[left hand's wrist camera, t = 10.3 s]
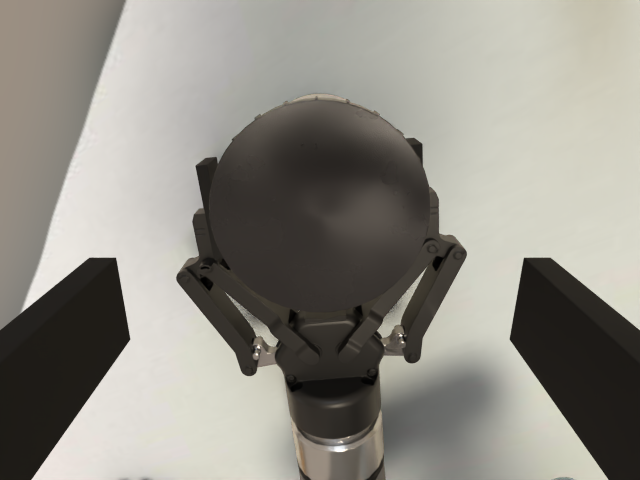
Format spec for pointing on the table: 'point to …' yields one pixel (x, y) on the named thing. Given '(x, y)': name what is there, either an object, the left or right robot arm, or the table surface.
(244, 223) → the lid
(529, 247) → the table surface
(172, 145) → the table surface
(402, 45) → the table surface
